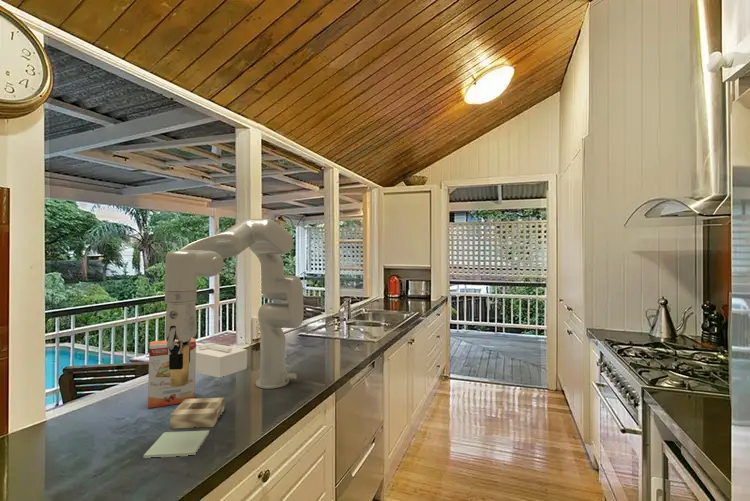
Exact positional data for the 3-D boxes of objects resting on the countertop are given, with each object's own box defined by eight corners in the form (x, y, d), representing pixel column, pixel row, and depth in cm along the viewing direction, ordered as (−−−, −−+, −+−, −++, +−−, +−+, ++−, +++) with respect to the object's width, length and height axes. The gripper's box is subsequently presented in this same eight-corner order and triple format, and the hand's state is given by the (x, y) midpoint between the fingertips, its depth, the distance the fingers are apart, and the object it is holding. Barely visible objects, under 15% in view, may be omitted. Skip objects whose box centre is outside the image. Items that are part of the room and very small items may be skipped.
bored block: (224, 409, 123) (224, 397, 123) (213, 426, 111) (213, 413, 111) (185, 411, 122) (185, 398, 122) (169, 428, 110) (170, 414, 110)
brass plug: (190, 380, 103) (191, 343, 103) (185, 386, 99) (185, 347, 99) (173, 381, 103) (174, 344, 103) (167, 386, 98) (167, 348, 98)
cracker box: (147, 409, 123) (148, 344, 123) (148, 402, 128) (149, 340, 128) (195, 402, 129) (196, 340, 129) (194, 396, 135) (195, 337, 135)
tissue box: (208, 361, 179) (208, 337, 179) (246, 369, 167) (247, 344, 167) (180, 369, 166) (180, 344, 166) (219, 378, 155) (220, 351, 155)
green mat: (209, 433, 107) (209, 430, 107) (194, 455, 96) (194, 452, 96) (164, 435, 106) (164, 432, 106) (143, 458, 94) (143, 455, 94)
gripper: (184, 301, 93) (182, 376, 93) (205, 293, 110) (204, 357, 110) (151, 301, 92) (150, 376, 92) (178, 293, 109) (177, 357, 109)
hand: (179, 365), depth 101 cm, fingers closed on brass plug, 4 cm apart
